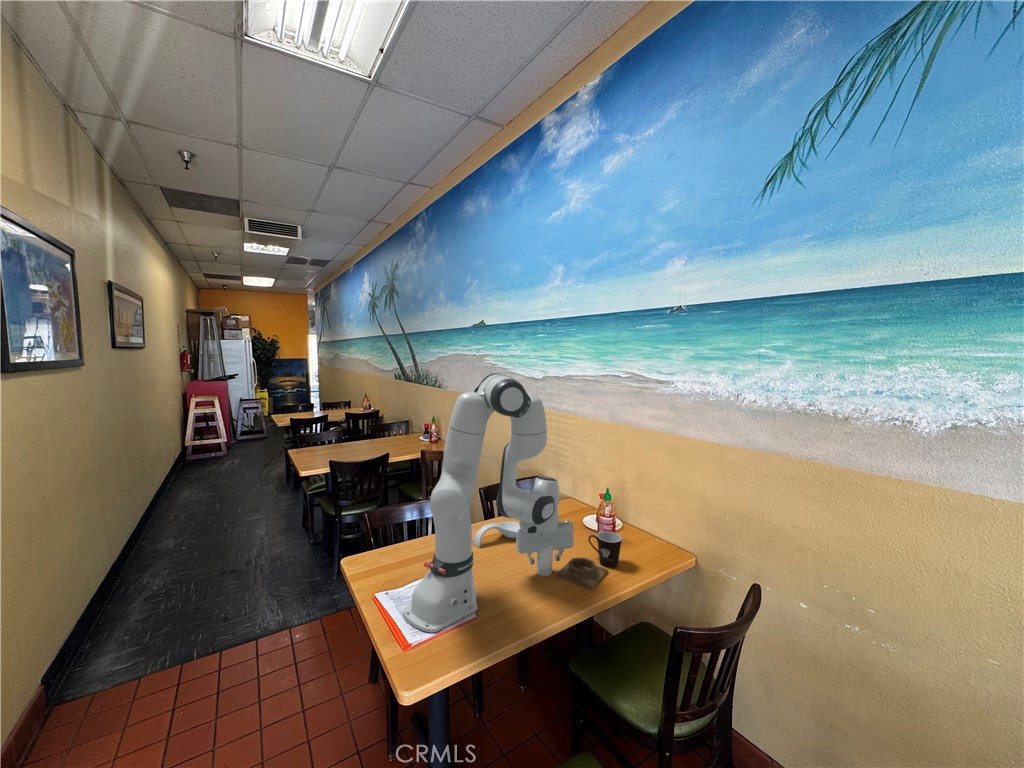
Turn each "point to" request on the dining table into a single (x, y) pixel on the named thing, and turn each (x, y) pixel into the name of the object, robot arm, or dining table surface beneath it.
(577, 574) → the holder
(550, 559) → the roll
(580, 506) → the dining table surface
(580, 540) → the dining table surface
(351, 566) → the dining table surface
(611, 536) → the coffee mug
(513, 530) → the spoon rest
